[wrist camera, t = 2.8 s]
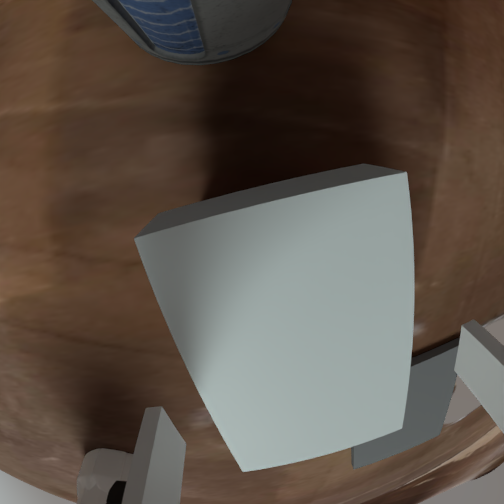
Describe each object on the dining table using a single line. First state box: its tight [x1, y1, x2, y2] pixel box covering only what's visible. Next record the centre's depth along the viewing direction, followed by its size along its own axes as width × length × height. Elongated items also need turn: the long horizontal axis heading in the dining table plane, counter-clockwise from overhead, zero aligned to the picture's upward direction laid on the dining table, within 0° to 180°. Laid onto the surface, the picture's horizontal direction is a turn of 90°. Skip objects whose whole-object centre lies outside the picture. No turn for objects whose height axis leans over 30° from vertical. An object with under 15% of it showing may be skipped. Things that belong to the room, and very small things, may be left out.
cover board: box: [134, 164, 414, 472], centre depth 15 cm, size 15×10×4 cm, turn 14°
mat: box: [351, 338, 460, 469], centre depth 27 cm, size 16×12×1 cm
